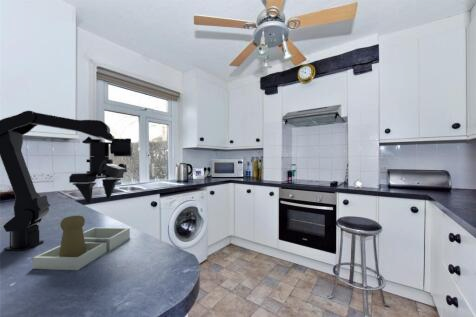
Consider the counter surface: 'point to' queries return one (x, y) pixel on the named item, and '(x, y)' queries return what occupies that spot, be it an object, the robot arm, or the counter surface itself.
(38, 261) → the lid
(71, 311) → the counter surface
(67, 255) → the cork
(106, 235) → the case
